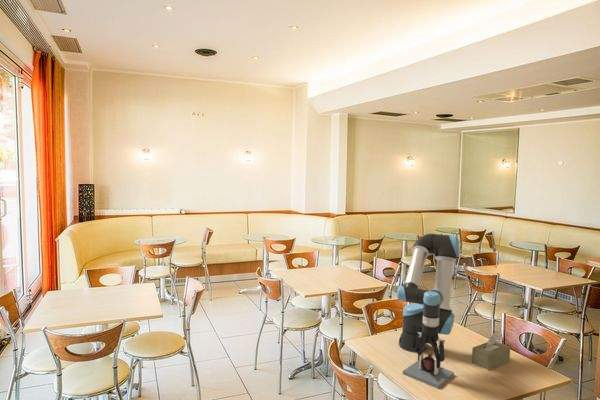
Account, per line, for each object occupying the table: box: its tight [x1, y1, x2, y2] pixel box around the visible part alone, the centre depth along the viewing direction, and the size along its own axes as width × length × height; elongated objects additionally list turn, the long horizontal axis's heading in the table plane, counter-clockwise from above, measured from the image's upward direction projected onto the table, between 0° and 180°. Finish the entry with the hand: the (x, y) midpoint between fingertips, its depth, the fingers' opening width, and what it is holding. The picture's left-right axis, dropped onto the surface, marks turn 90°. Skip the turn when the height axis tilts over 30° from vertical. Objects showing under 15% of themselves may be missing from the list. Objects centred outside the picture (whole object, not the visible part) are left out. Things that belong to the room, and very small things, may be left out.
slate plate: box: [402, 360, 455, 389], centre depth 193 cm, size 18×17×2 cm
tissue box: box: [471, 332, 511, 371], centre depth 207 cm, size 19×10×16 cm, turn 123°
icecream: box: [421, 353, 436, 372], centre depth 193 cm, size 7×7×15 cm
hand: (428, 370), depth 193 cm, fingers closed on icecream, 7 cm apart
